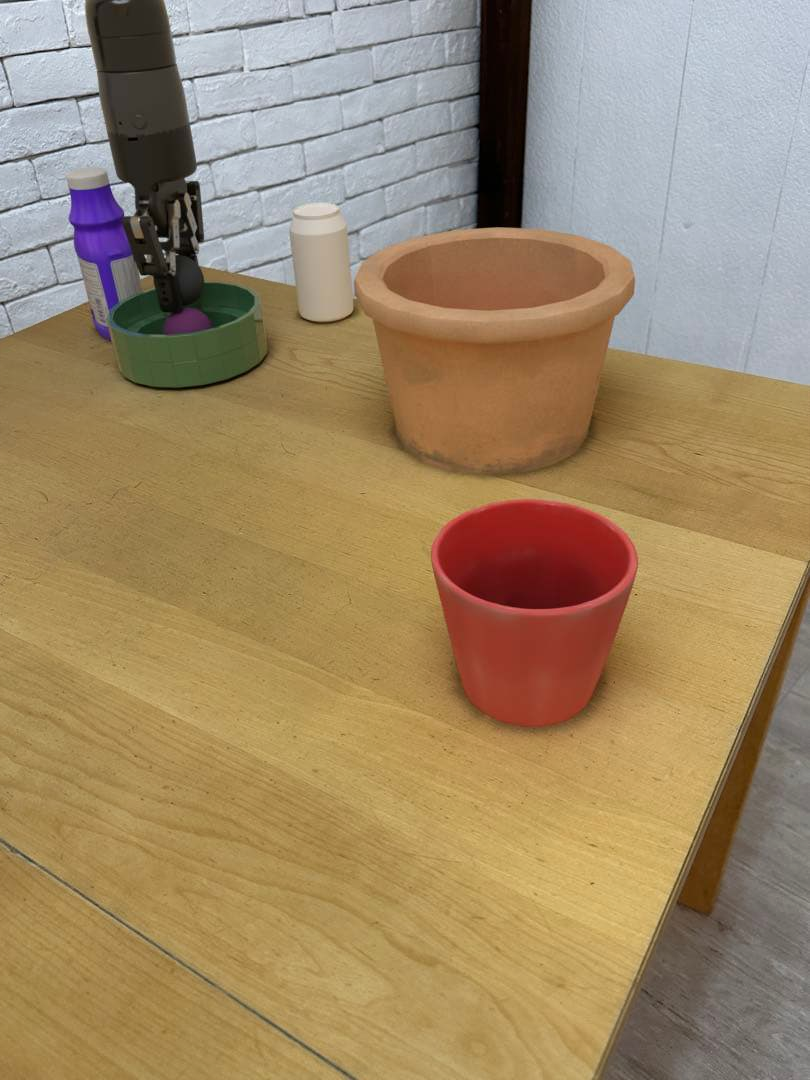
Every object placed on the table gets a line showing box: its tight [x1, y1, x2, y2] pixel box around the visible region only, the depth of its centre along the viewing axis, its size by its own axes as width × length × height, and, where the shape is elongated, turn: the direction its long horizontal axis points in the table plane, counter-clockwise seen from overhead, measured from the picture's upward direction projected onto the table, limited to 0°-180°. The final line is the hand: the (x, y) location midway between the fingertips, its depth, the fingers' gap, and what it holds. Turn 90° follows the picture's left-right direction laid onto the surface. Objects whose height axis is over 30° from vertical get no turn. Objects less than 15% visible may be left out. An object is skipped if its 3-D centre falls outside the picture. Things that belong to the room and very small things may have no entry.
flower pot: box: [430, 498, 639, 728], centre depth 51 cm, size 11×11×10 cm
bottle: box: [65, 166, 144, 342], centre depth 97 cm, size 7×6×17 cm
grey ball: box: [152, 254, 205, 306], centre depth 92 cm, size 5×5×5 cm
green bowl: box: [106, 280, 268, 389], centre depth 93 cm, size 15×15×6 cm
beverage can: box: [288, 202, 354, 323], centre depth 99 cm, size 6×6×12 cm
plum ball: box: [163, 307, 213, 335], centre depth 92 cm, size 5×5×5 cm
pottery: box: [353, 226, 636, 477], centre depth 75 cm, size 22×22×14 cm
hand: (182, 300), depth 93 cm, fingers closed on grey ball, 5 cm apart
